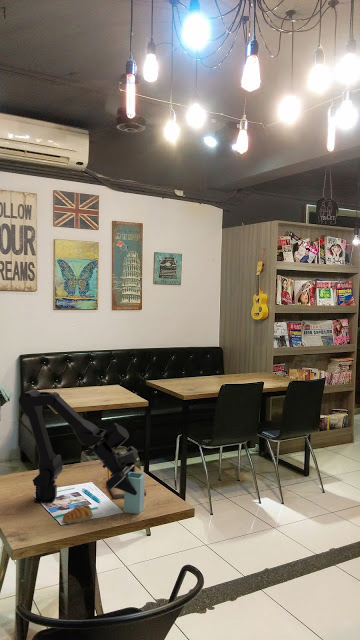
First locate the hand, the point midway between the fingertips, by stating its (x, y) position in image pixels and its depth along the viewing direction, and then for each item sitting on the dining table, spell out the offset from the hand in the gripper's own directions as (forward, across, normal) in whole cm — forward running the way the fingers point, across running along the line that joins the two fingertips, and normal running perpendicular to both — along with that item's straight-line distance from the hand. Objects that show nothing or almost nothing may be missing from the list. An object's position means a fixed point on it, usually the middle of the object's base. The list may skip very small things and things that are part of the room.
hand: (138, 491), depth 167 cm
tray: (-1, +15, +11) cm, 18 cm away
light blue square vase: (+4, 0, +6) cm, 7 cm away
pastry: (-7, -11, +17) cm, 21 cm away
